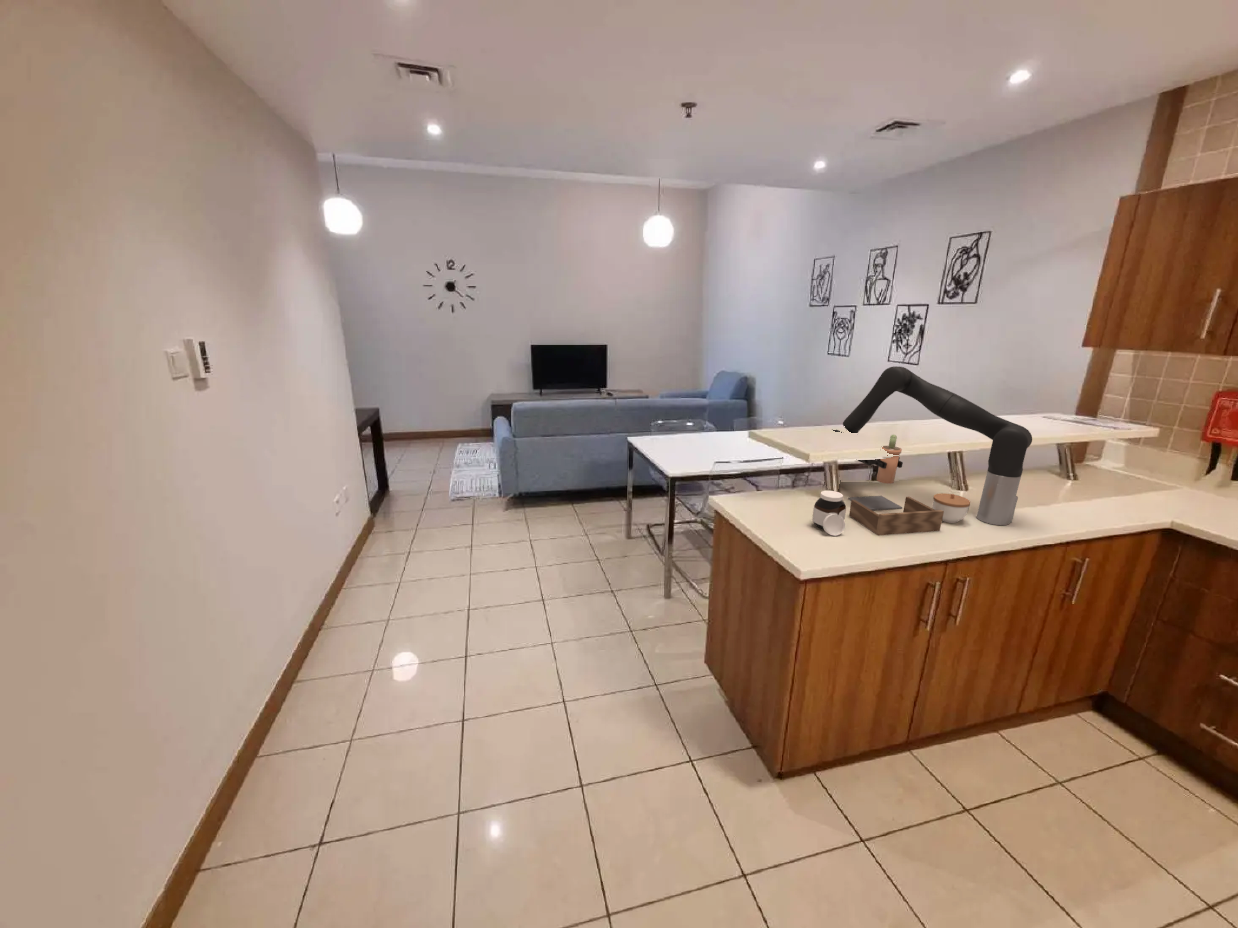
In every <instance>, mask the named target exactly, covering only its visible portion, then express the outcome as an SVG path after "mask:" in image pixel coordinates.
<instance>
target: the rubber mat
mask: <svg viewBox="0 0 1238 928" xmlns="http://www.w3.org/2000/svg"><path fill="white" fill-rule="evenodd" d="M847 499H848V500H849V501H851V500H856V501H857V502H859V503H861V504H862V505H864V506H866V507H867V508H869V509H871V510H872V511H874V512H875V511H887V510H902V509H903V506H901V505H900V504H897V503H895V502H894V501H892V500H890V499H888V498H887V497H885V496H883V495H869V496H868V495H867V496H851V497H850V496H849V497H847Z"/></svg>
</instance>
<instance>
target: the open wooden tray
mask: <svg viewBox="0 0 1238 928" xmlns="http://www.w3.org/2000/svg"><path fill="white" fill-rule="evenodd" d="M943 514H944V511H942V510H934V509H933V507H930V506H928V505H926V504H924V503H923V502H920V501H918V500H917V499H914V497H913V498H912V497H911V496H905V499H904V505H903V511H902V512H901V511H900V512H891V513H890V512H888V513H877V512H875V511H872V510H871V509H869V508H867V507H866V506H864V505H862V504H861V503H859V502H857V501H856V500H850V507H849V514H848V516H849V517H850V518H851V519H854V521H856V522H858V524H861V525H862V526H863V527H865V528H867V529H868V530H870V531H871V532H872V533H874V534H875V535H876V536H884V535H885V536H889V535H901V534H914V533H917V534H918V533H926V532H927V533H928V532H929V533H930V532H940V531H941V526H942V522H943V521H942V518H943Z"/></svg>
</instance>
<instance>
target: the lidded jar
mask: <svg viewBox="0 0 1238 928" xmlns="http://www.w3.org/2000/svg"><path fill="white" fill-rule="evenodd" d="M932 499H933V500H932V507H931V508H932V509H934V510H942V511H944V514H943V518H942V522H943V523H944V522H945V523H949V524H956V523H958V522H960V521H961V520H963V519H964V518H965V517H966V516H967V514H968V512H969V509H970V506H971V501H970V500H969V499H968V498H966V497H964V496H960V495H957V494H954V493H943V492H941V493H935V494H934V495H933V498H932Z"/></svg>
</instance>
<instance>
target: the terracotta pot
mask: <svg viewBox="0 0 1238 928" xmlns="http://www.w3.org/2000/svg"><path fill="white" fill-rule="evenodd" d="M897 439H898V437H897V435H896V434H891V435H890V438H889V442H888V445H882V446H883V447H882V446H881V447H882V449H884V450H885V451H887V453H889V454H893V455H899V456H893V457H891V458H886V459H880V460H882V461H884V462H886V463H887V465H886V468H885V469H883V468H881V467H879V466H878V469H877V474H876V481H877V482H878V483H881V484H887V485H888V484H890V485H891V484H894V483H895V480H896V479H895V478H896V474H897V469H898V467H897V465H898V460H899V461H900V459H899V457H900V455H901V454H902V450H903V449H902V448H901V447H897V446H896V445H897ZM887 456H888V455H887Z"/></svg>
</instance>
